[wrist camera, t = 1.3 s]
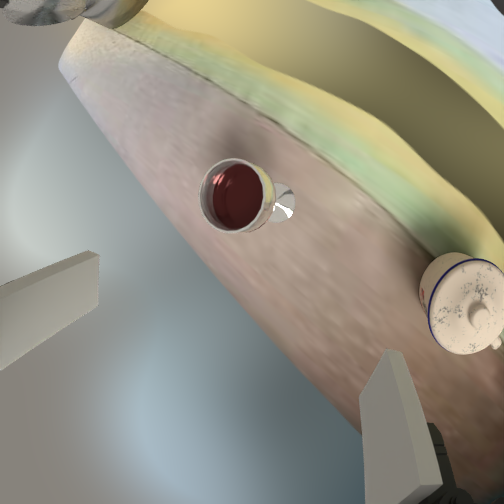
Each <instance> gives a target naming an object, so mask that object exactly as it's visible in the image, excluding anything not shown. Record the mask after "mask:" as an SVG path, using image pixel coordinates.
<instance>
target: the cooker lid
mask: <svg viewBox="0 0 504 504" xmlns="http://www.w3.org/2000/svg"><path fill="white" fill-rule="evenodd" d="M86 1H87V0H0V8H3V15H4V17H5V18H6V19H7V20H8V21H10V22H12V23H15V24H19V25H27V26H44V25H51V24H57V23H61V22H65V21H68V20H70V19H71V20H73V19H75V18H76V17H78V16H79V15H81V14H82V13H84V12H86V11H87V8H86V7H85V5H86Z"/></svg>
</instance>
